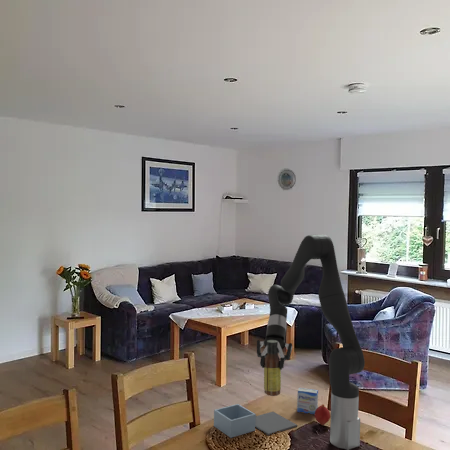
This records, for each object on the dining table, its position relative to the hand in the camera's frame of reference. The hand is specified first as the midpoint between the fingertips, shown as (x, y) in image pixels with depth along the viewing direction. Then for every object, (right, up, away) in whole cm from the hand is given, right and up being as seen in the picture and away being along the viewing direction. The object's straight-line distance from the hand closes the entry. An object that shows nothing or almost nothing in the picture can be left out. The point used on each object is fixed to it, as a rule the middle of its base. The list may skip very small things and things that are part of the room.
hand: (271, 367), depth 175 cm
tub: (-14, -21, -3) cm, 26 cm away
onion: (+19, -22, +2) cm, 30 cm away
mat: (0, -22, +2) cm, 22 cm away
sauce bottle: (0, -10, +2) cm, 11 cm away
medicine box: (+16, -22, +14) cm, 31 cm away
